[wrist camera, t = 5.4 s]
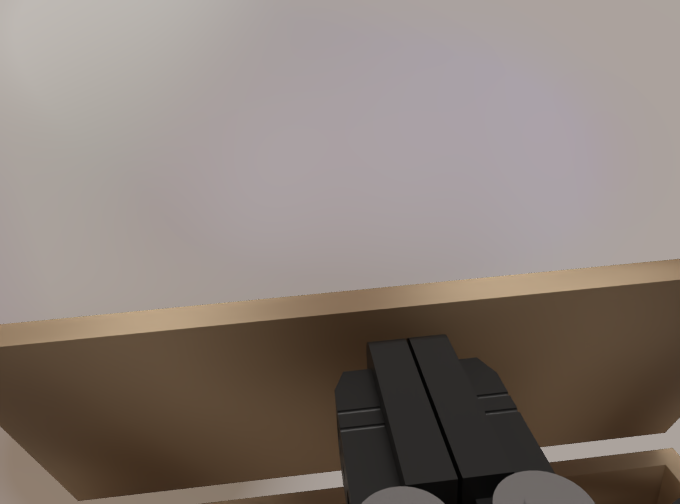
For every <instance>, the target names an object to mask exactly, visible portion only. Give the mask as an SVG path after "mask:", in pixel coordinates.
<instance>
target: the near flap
mask: <svg viewBox="0 0 680 504" xmlns="http://www.w3.org/2000/svg"><path fill="white" fill-rule="evenodd" d="M440 334H446V335H447V337H448V339H449V341H450V343H451V345H452V347H453V349H454V351H455V353H456V355H457V357H458V359H465V358H474V357H477V358H478V359H480V360H481V361H482V362H484V363H485V364H486V365H488V366H489V367H490V368H492V369H493V370H494V371H496V372H497V374H498V375H499V377H500V379H501V380H502V382H503V384H504V386H505V387H506V389H507V391H508V395H510V396H511V398H512V400H513V401H514V403H515V405H516V406H517V411H518V412H520V413H521V415H522V417H523V419H524V420H525V422H526V424H527V426H528V427H529V429H530V431H531V432H532V434H533V436H534V438H535V439H536V441H537V443H538V445H539V446H540V447H546V446H554V445H563V444H572V443H581V442H589V441H598V440H607V439H615V438H624V437H632V436H641V435H649V434H658V433H665V432H666V431H667V430H668V429H669V428H670V427H671V426H672V425H673V424H674V423H675V422H676V421H677V420H678V419H679V418H680V259H674V260H664V261H653V262H643V263H632V264H623V265H611V266H601V267H591V268H580V269H570V270H560V271H549V272H539V273H528V274H519V275H508V276H497V277H487V278H477V279H467V280H456V281H446V282H436V283H425V284H415V285H405V286H394V287H383V288H373V289H363V290H354V291H343V292H332V293H321V294H312V295H301V296H290V297H280V298H270V299H259V300H249V301H238V302H228V303H218V304H207V305H197V306H187V307H176V308H166V309H156V310H146V311H135V312H125V313H115V314H104V315H94V316H83V317H74V318H63V319H52V320H42V321H31V322H21V323H11V324H2V325H1V324H0V426H1V427H2V428H3V429H4V430H5V431H6V432H7V433H8V434H9V435H10V436H11V437H12V438H13V439H14V440H15V441H16V442H17V443H18V444H20V446H21V447H23V448H24V449H25V450H26V451H27V452H28V453H29V454H30V455H31V456H32V457H33V458H34V459H35V460H36V461H37V462H38V463H39V464H40V465H41V466H42V467H43V468H44V469H45V470H47V471H48V472H49V473H50V474H51V475H52V476H53V477H54V478H55V479H56V480H57V481H58V482H59V483H60V484H61V485H62V486H63V487H64V488H65V489H66V490H67V491H68V492H70V493H71V494H72V495H73V496H74V497H75V498H76V499H77V500H78V501H82V500H90V499H99V498H107V497H116V496H125V495H134V494H142V493H150V492H159V491H168V490H176V489H185V488H193V487H202V486H211V485H219V484H228V483H237V482H245V481H254V480H263V479H270V478H280V477H287V476H297V475H306V474H313V473H323V472H331V471H340V470H341V463H340V456H339V444H338V431H337V418H336V404H335V391H334V390H335V388H336V386H337V384H338V382H339V380H340V377H341V375H342V373H343V372H345V371H355V370H364V369H367V355H366V345H367V342H374V341H384V340H393V339H403V338H405V339H407V338H411V337H421V336H430V335H440Z"/></svg>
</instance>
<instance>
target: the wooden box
mask: <svg viewBox="0 0 680 504" xmlns="http://www.w3.org/2000/svg"><path fill="white" fill-rule="evenodd" d="M549 464H550V465H551V467H552V469H553V471H554V472H555V474H557V475H559V476H562V477H564V478H566V479H568V480H570V481H572V482H574V483H575V484H576V485H578V486H579V487H581V488H582V489H583V490H584V491H585V492H586V493H587V494H588V495H589V496H590V497H591V499H592V500H593V501H594V503H595V504H672V503H673V502H674V501H675V500H677V499H678V498H680V456H679V455H678V453H677V452H676V451H675V450H674V449H673V448H669V449H660V450H653V451H643V452H635V453H627V454H618V455H609V456H601V457H593V458H585V459H575V460H567V461H558V462H550V463H549ZM203 504H346V500H345V492H344V487H338V488H330V489H321V490H313V491H304V492H296V493H288V494H280V495H271V496H262V497H255V498H245V499H238V500H228V501H220V502H211V503H203Z"/></svg>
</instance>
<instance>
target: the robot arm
mask: <svg viewBox="0 0 680 504" xmlns="http://www.w3.org/2000/svg"><path fill="white" fill-rule="evenodd" d="M366 355H367V369H364V370H355V371H345V372H343V373H342V375H341V377H340V380H339V382H338V384H337V386H336V388H335V390H334V391H335V404H336V418H337V431H338V444H339V456H340V463H341V471H342V476H343V485H344V492H345V500H346V504H595V503H594V501H593V500H592V499H591V497H590V496H589V495H588V494H587V493H586V492H585V491H584V490H583V489H582V488H581V487H579V486H578V485H576V484H575V483H574V482H572V481H570V480H568V479H566V478H564V477H562V476H559V475H557V474H555V472H554V471H553V469H552V467H551V465H550V464H549V462H548V460H547V458H546V457H545V455H544V453H543V451H542V450H541V449H540V446H539V445H538V443H537V441H536V439H535V438H534V436H533V434H532V432H531V431H530V429H529V427H528V426H527V424H526V422H525V420H524V419H523V417H522V415H521V413H520V412H518V411H517V406H516V405H515V403H514V401H513V400H512V398H511V396H510V395H508V391H507V389H506V387H505V386H504V384H503V382H502V380H501V379H500V377H499V375H498V374H497V372H496V371H494V370H493V369H492V368H490V367H489V366H488V365H486V364H485V363H484V362H482V361H481V360H480V359H478V358H477V357H474V358H465V359H458V357H457V355H456V353H455V351H454V349H453V347H452V345H451V343H450V341H449V339H448V337H447V335H446V334H440V335H430V336H421V337H411V338H407V339H405V338H403V339H393V340H384V341H374V342H367V345H366ZM672 504H680V498H678V499H677V500H675V501H674V502H673V503H672Z"/></svg>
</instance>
